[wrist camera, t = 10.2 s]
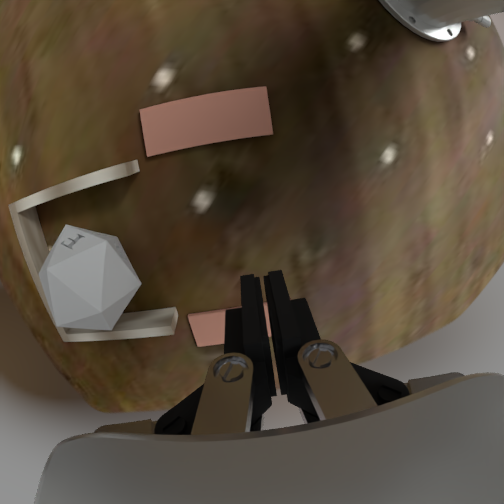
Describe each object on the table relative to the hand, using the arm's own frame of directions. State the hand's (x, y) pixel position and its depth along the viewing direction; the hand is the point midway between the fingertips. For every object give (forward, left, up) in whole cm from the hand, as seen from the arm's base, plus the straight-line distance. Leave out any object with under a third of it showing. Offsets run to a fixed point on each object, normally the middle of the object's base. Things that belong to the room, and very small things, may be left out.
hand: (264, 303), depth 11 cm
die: (+14, +1, -13) cm, 19 cm away
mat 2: (+2, +10, -13) cm, 17 cm away
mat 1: (+2, -9, -13) cm, 15 cm away
